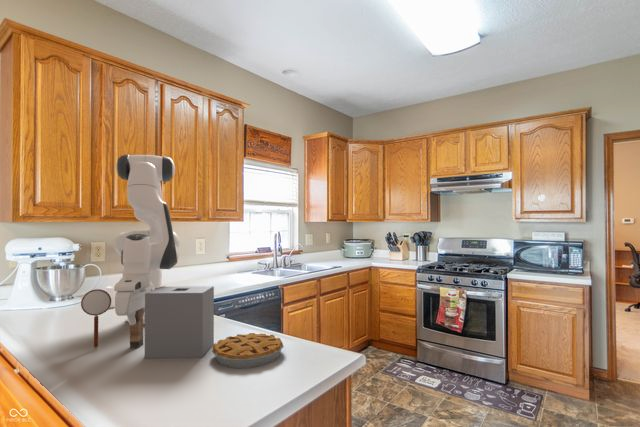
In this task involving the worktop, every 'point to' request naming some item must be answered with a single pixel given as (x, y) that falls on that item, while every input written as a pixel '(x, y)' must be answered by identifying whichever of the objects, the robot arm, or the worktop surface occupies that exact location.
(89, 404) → the worktop surface
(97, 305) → the magnifying glass
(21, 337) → the worktop surface
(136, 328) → the long brown rectangular block
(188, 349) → the grey tissue box
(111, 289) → the white cup
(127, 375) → the worktop surface
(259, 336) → the pie
